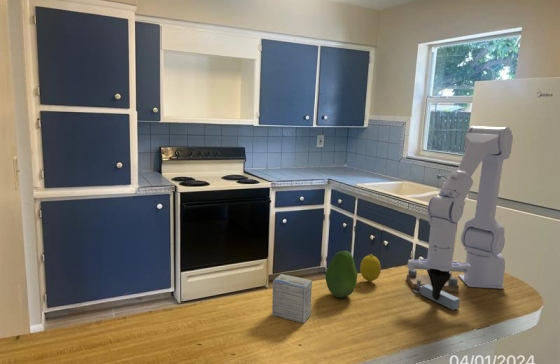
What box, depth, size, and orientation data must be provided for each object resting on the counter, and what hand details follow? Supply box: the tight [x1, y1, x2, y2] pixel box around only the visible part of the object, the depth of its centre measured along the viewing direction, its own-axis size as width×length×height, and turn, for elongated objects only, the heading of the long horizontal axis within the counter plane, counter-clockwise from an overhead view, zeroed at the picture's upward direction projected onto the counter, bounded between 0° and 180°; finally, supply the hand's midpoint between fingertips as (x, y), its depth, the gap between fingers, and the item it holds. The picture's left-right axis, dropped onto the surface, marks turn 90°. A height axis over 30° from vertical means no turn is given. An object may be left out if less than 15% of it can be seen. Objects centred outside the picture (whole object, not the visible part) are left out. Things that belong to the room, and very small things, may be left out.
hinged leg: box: [419, 284, 461, 311], centre depth 101 cm, size 11×2×2 cm, turn 30°
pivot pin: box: [412, 279, 421, 295], centre depth 106 cm, size 3×3×3 cm
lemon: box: [359, 253, 382, 283], centre depth 111 cm, size 6×6×8 cm
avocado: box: [325, 250, 358, 299], centre depth 101 cm, size 8×8×12 cm
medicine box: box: [271, 273, 313, 324], centre depth 91 cm, size 8×4×9 cm, turn 65°
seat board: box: [406, 268, 460, 293], centre depth 111 cm, size 12×7×3 cm, turn 86°
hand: (435, 298), depth 99 cm, fingers closed, pressing on hinged leg
